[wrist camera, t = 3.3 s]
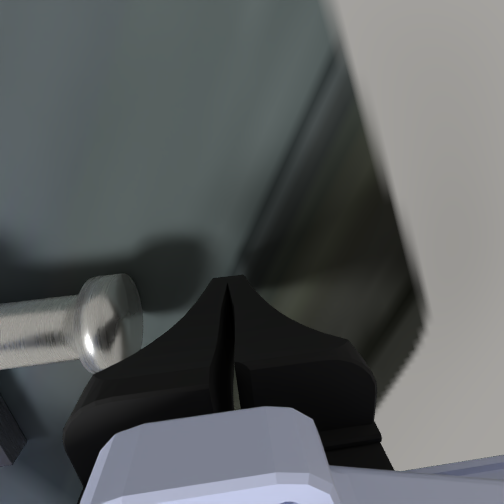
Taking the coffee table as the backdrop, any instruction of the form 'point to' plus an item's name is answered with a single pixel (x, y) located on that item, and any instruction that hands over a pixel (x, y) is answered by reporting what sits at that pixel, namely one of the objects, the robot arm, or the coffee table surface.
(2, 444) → the hinge leaves
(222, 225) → the coffee table surface
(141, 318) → the hinge pin
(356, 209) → the coffee table surface
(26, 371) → the coffee table surface
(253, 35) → the coffee table surface
